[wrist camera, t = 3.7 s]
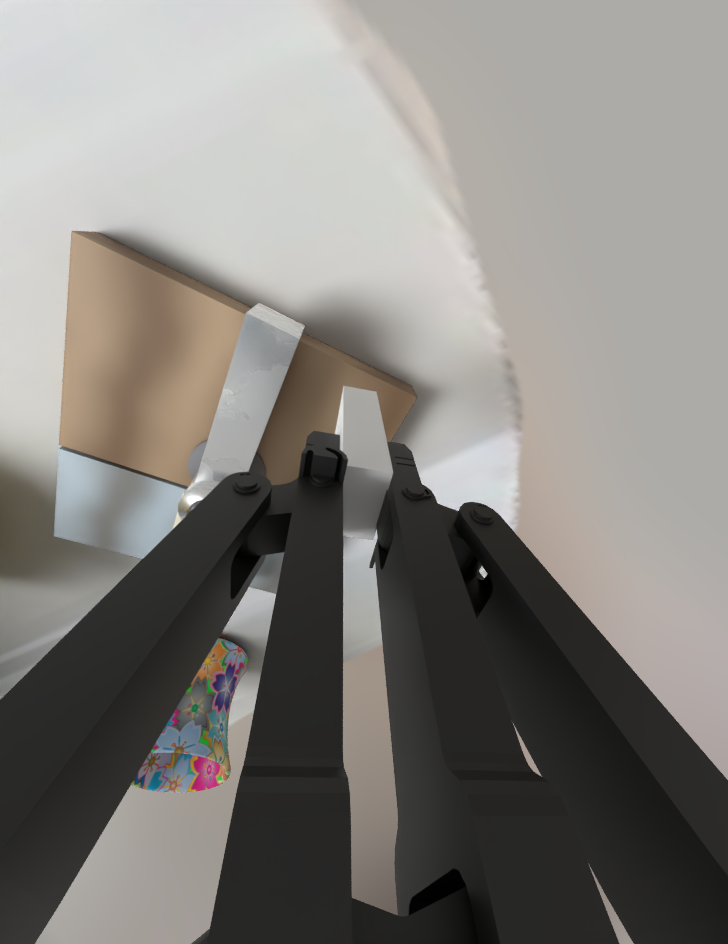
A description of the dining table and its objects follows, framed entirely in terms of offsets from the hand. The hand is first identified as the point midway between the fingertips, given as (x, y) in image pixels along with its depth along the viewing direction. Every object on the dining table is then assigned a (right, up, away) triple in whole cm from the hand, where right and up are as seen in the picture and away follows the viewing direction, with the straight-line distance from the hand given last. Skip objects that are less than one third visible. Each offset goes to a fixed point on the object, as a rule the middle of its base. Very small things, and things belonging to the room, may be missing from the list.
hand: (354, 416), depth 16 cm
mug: (-17, -23, +23) cm, 37 cm away
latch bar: (-7, +1, +5) cm, 8 cm away
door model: (-9, -1, +10) cm, 13 cm away
